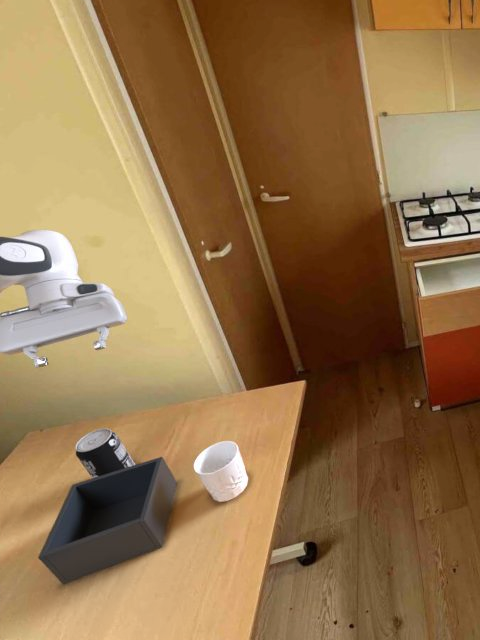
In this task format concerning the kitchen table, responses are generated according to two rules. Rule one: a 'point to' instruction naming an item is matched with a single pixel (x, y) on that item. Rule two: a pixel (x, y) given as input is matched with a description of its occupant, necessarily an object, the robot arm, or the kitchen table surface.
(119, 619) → the kitchen table surface
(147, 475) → the bin
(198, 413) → the kitchen table surface
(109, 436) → the beverage can
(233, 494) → the white cup
